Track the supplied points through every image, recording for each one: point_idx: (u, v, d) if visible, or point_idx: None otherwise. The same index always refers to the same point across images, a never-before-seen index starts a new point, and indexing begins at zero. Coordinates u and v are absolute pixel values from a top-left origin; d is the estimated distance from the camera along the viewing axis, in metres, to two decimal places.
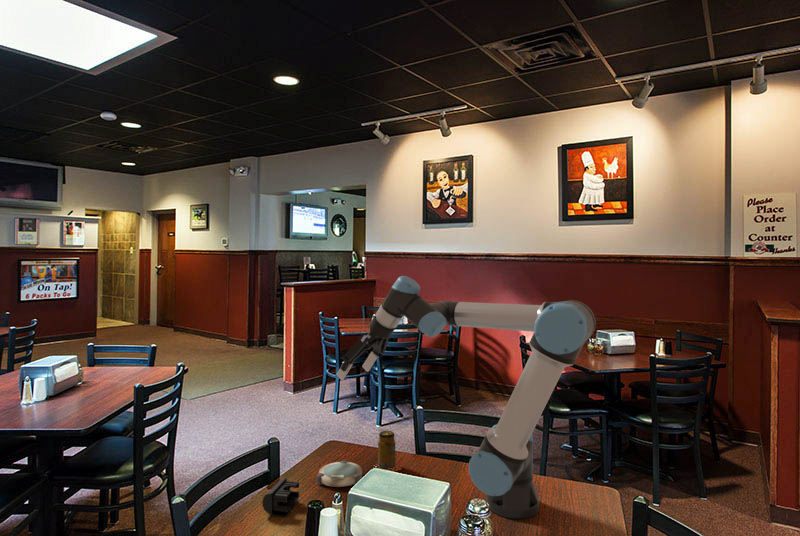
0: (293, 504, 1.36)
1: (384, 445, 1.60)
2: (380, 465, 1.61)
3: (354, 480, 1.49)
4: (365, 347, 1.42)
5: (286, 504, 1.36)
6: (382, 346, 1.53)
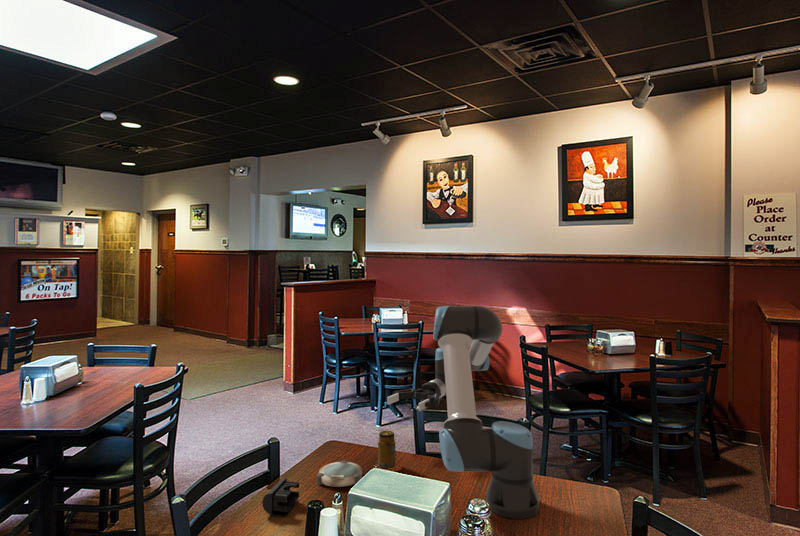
0: (293, 504, 1.36)
1: (384, 445, 1.60)
2: (380, 465, 1.61)
3: (354, 480, 1.49)
4: None
5: (286, 504, 1.36)
6: None
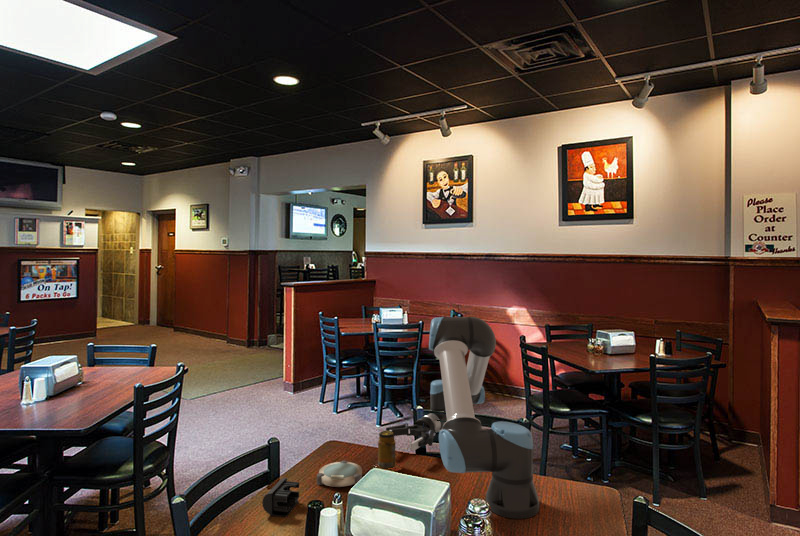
0: (293, 504, 1.36)
1: (384, 445, 1.60)
2: (380, 465, 1.61)
3: (354, 480, 1.49)
4: None
5: (286, 504, 1.36)
6: (429, 437, 1.71)
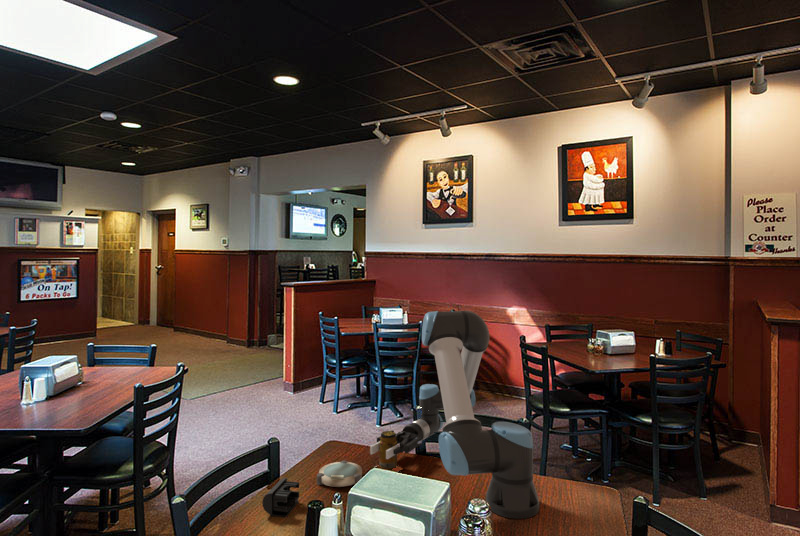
0: (293, 504, 1.36)
1: (386, 445, 1.59)
2: (382, 466, 1.60)
3: (354, 480, 1.49)
4: None
5: (286, 504, 1.36)
6: None
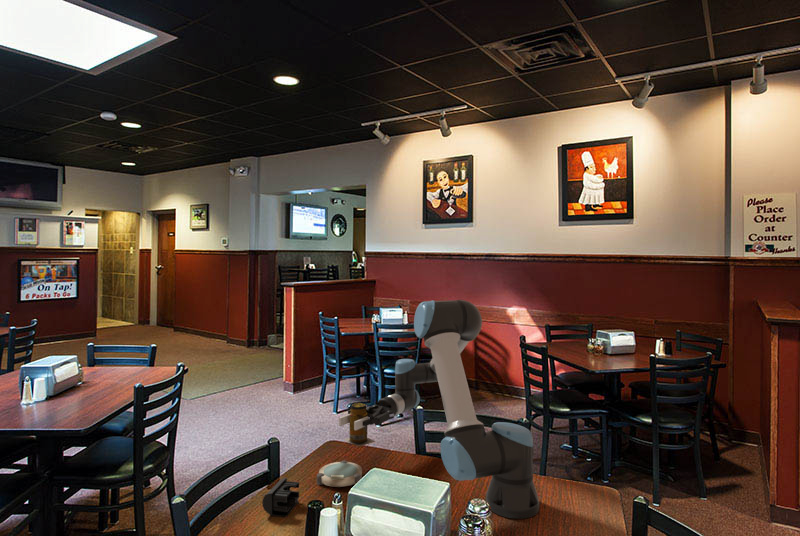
0: (293, 504, 1.36)
1: (355, 417, 1.55)
2: (351, 438, 1.56)
3: (354, 480, 1.49)
4: None
5: (286, 504, 1.36)
6: None
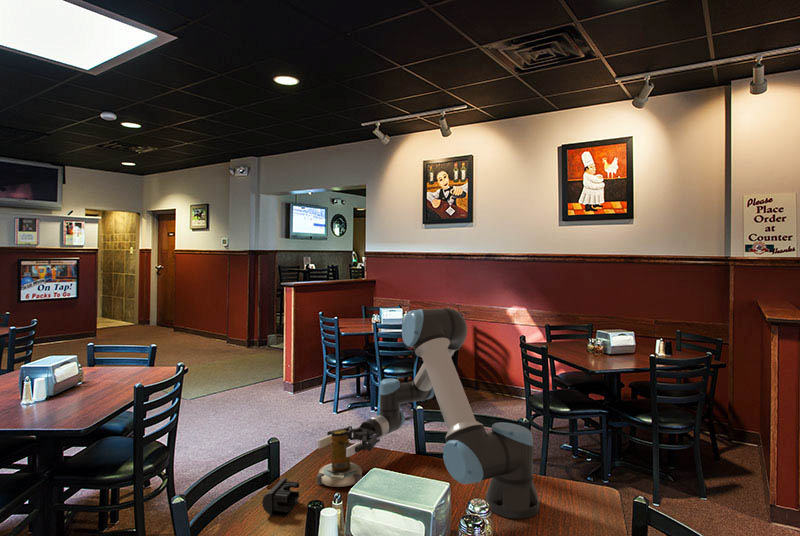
0: (293, 504, 1.36)
1: (336, 444, 1.52)
2: (334, 466, 1.52)
3: (354, 480, 1.49)
4: None
5: (286, 504, 1.36)
6: None
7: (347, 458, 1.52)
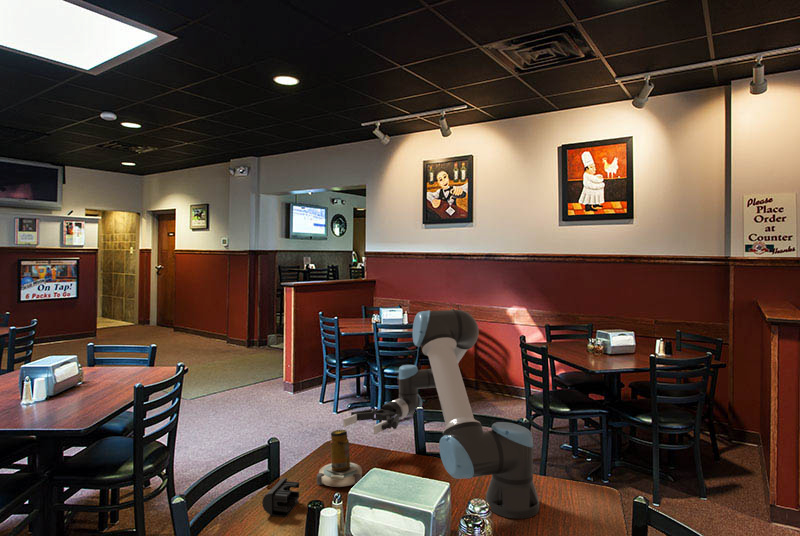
0: (293, 504, 1.36)
1: (336, 444, 1.52)
2: (333, 466, 1.52)
3: (354, 480, 1.49)
4: None
5: (286, 504, 1.36)
6: None
7: (347, 458, 1.52)
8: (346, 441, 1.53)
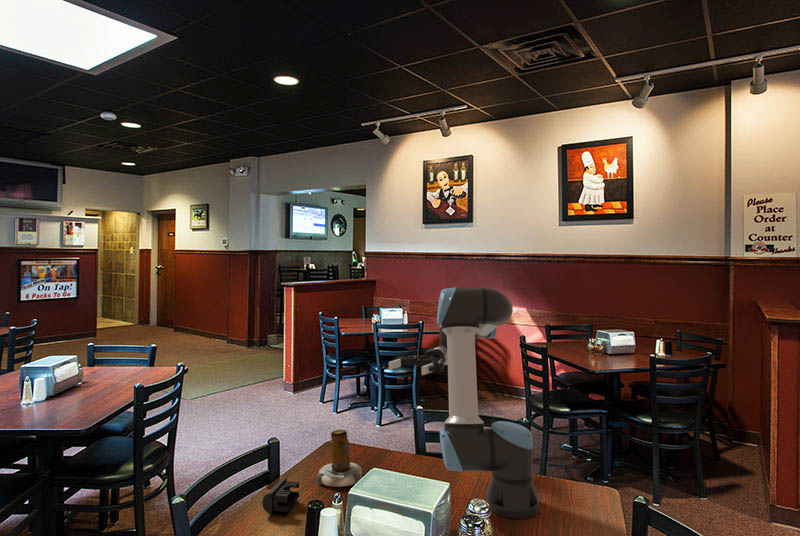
0: (293, 504, 1.36)
1: (336, 444, 1.52)
2: (333, 466, 1.52)
3: (354, 480, 1.49)
4: None
5: (286, 504, 1.36)
6: None
7: (347, 458, 1.52)
8: (346, 441, 1.53)
